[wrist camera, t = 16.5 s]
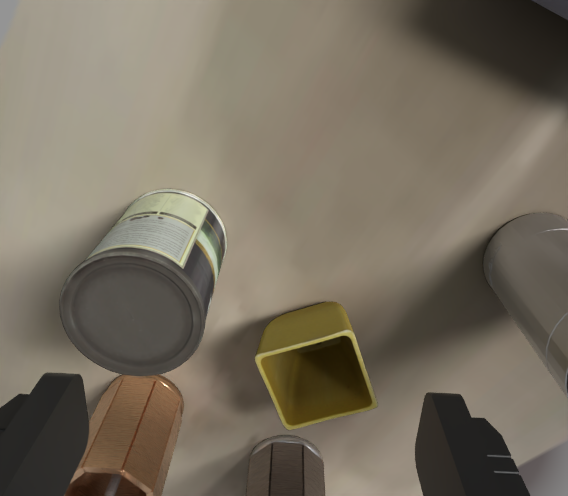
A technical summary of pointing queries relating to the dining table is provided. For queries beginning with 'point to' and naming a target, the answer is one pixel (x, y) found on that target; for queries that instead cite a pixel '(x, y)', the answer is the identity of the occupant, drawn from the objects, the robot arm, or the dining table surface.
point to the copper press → (130, 438)
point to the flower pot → (314, 366)
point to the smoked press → (285, 468)
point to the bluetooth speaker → (555, 6)
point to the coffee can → (147, 285)
